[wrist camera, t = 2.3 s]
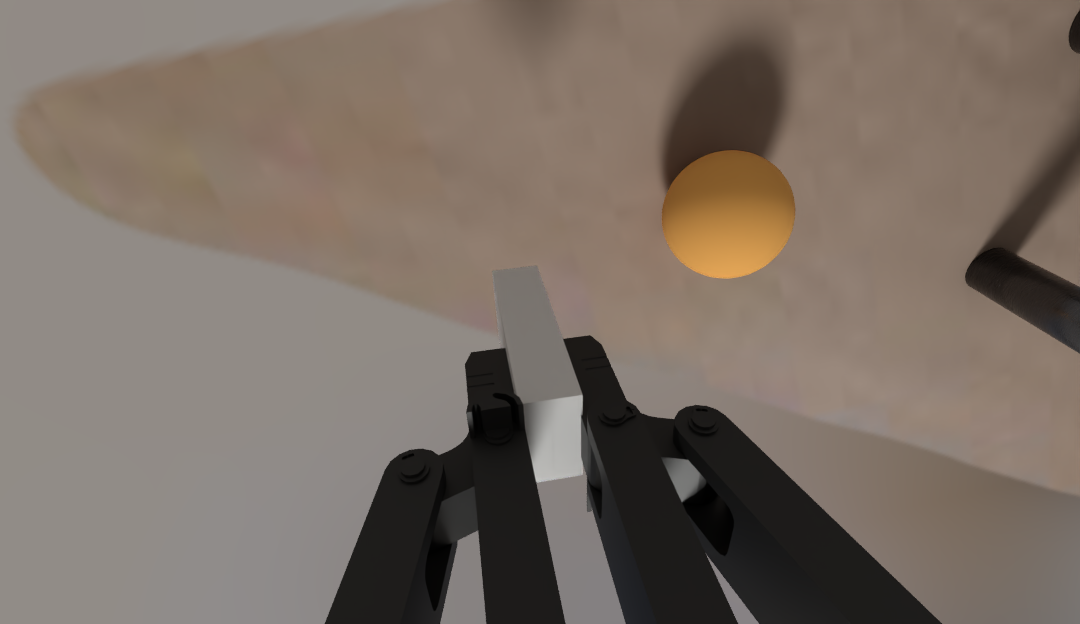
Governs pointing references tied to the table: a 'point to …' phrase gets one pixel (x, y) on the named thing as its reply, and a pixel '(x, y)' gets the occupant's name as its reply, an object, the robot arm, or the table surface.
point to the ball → (728, 214)
